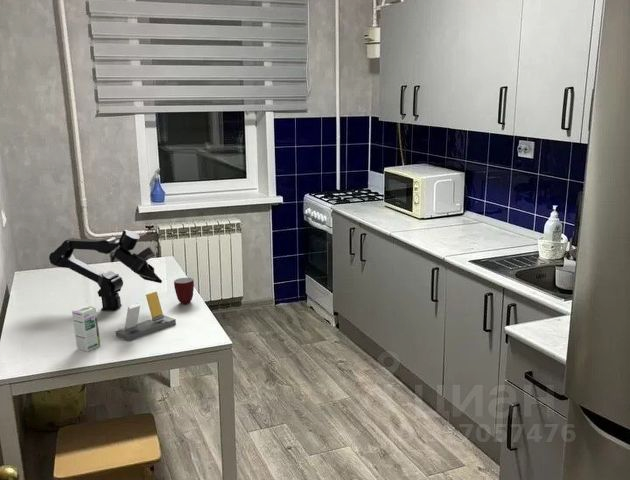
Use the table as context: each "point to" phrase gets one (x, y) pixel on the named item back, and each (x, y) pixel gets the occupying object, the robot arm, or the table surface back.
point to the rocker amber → (154, 306)
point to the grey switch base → (145, 328)
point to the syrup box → (86, 328)
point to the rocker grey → (132, 317)
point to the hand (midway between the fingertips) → (159, 280)
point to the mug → (184, 289)
